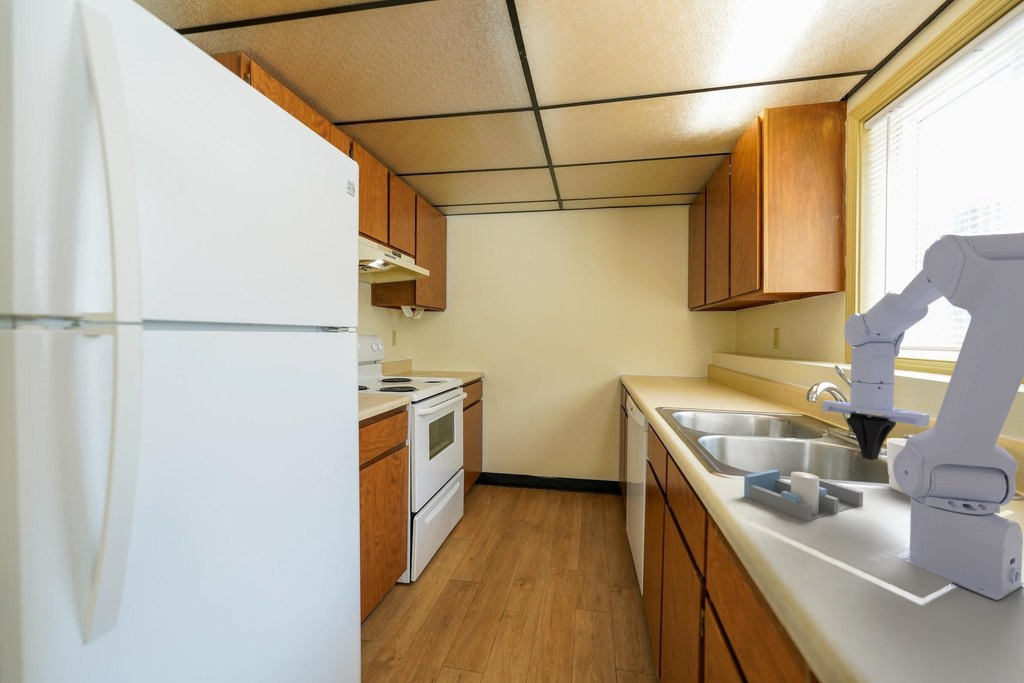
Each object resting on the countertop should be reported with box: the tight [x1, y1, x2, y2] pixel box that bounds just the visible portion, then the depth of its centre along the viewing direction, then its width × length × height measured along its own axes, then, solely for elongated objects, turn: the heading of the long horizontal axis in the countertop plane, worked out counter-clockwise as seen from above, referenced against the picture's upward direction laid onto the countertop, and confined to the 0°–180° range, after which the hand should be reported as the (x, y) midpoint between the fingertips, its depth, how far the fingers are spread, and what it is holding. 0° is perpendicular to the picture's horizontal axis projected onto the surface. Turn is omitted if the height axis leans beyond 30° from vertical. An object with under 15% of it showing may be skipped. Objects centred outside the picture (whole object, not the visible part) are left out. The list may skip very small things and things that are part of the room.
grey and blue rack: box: [743, 469, 864, 523], centre depth 73 cm, size 11×16×5 cm
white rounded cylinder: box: [790, 471, 820, 515], centre depth 69 cm, size 4×4×6 cm
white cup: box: [886, 437, 908, 494], centre depth 79 cm, size 8×8×10 cm
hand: (870, 458), depth 70 cm, fingers closed
